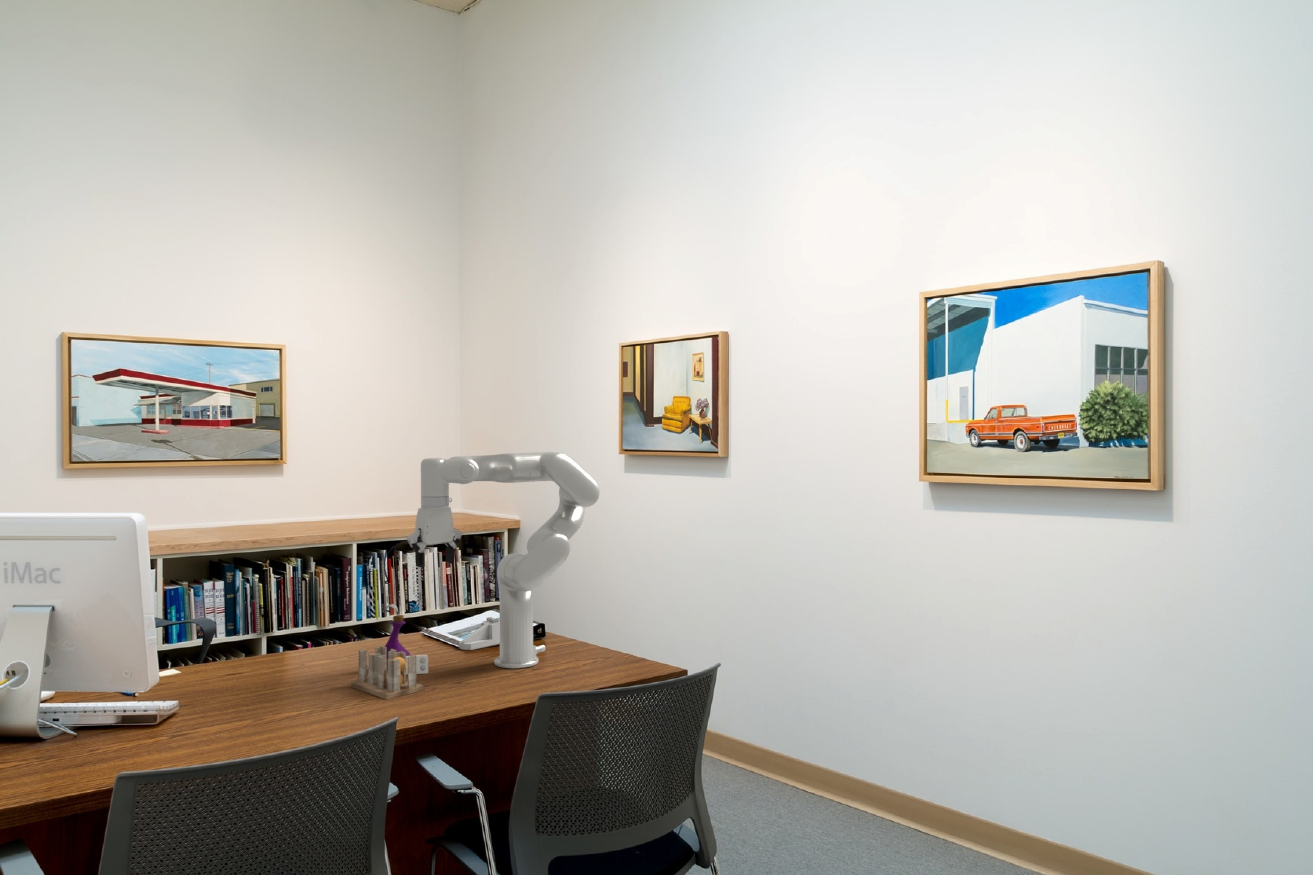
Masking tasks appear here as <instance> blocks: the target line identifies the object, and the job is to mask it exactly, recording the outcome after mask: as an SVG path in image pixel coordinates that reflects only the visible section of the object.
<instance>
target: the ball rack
mask: <svg viewBox="0 0 1313 875" xmlns="http://www.w3.org/2000/svg"><path fill="white" fill-rule="evenodd" d="M409 656H410V657H408V675H406V667H405V669H404V670H403V671H402V672H400V659H397V660H393V659H394V658H396V657H401V658H403V659H404V660H405V661H406V653H405V652H397V650H394V649H390V651H388V670H387V647H385V646H383V645H381V646H377V647H374V654H373V653H368V649H362V650H358V680H356V681H352V682H350V688H353V689H356V690H358V691H361V692H363V693H367V694H369V695H372V696H376V697H378V698H381V699H385V700H391V699H395V698H398V697H402V696H406V695H410V694H412V693H417V692H421V691H424V690H425V685H424V684H421V683H418V682H417V674H416V655H415V654H412V653H410V655H409ZM400 674H402V676H403V683H402V685H401V686H400ZM387 679H388V682H387Z"/></svg>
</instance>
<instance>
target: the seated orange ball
mask: <svg viewBox="0 0 1313 875" xmlns="http://www.w3.org/2000/svg"><path fill="white" fill-rule="evenodd" d="M387 682H388V679H387ZM402 683H403V676H402V674H400V686H401V685H402Z"/></svg>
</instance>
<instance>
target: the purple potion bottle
mask: <svg viewBox="0 0 1313 875" xmlns="http://www.w3.org/2000/svg"><path fill="white" fill-rule="evenodd" d="M389 607H390V608H392V609H394V610H395V611H396V613H397V615H396V614H395V615H393V617H392V620H391V622H390V623H389V624H390V625H391V626H392V630H391V633H390V635H389V638H388V640H387V642H386V643H385V645H384V647H387V671H388V651H390V649H394V650H397V652H405V653H406V656H410V655H411V652H410V651H408V650H407V649H406V648H405V647H404V646H403V645H402V644H401V643H400V642H399V633H400V630H401V628H402V627H403V625H405V624H406V621H405V620H404V618H405V617H404V615H403V614H399V609H398V607H397V605H396V604H393V603H392V604H388V605H387V606H386V607H385V609H384V611H385V613H386V612H387V610H388V608H389Z"/></svg>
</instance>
